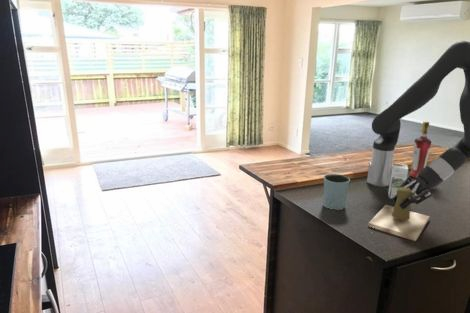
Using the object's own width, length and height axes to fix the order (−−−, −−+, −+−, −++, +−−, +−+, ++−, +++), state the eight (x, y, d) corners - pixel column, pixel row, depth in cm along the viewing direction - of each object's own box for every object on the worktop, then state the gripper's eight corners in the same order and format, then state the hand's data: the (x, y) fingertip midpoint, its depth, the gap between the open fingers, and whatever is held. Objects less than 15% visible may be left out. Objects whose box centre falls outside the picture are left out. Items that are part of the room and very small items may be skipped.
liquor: (406, 174, 185) (415, 120, 176) (421, 175, 184) (431, 120, 175) (411, 179, 178) (420, 123, 170) (427, 180, 177) (437, 123, 169)
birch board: (368, 226, 131) (368, 222, 131) (385, 208, 146) (385, 204, 146) (415, 241, 122) (416, 237, 121) (428, 219, 137) (429, 216, 136)
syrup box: (401, 195, 159) (407, 164, 154) (403, 200, 153) (408, 168, 149) (387, 193, 160) (392, 162, 156) (388, 198, 155) (393, 166, 151)
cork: (388, 212, 136) (392, 185, 133) (404, 212, 136) (408, 185, 133) (396, 220, 130) (401, 192, 127) (413, 219, 131) (417, 191, 127)
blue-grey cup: (319, 208, 145) (322, 180, 142) (322, 198, 154) (325, 172, 151) (346, 212, 142) (349, 184, 138) (347, 202, 151) (350, 175, 147)
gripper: (419, 159, 134) (382, 189, 138) (441, 172, 121) (400, 205, 124) (430, 172, 136) (394, 202, 139) (453, 187, 122) (413, 219, 126)
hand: (397, 203), depth 132 cm, fingers closed on cork, 4 cm apart
